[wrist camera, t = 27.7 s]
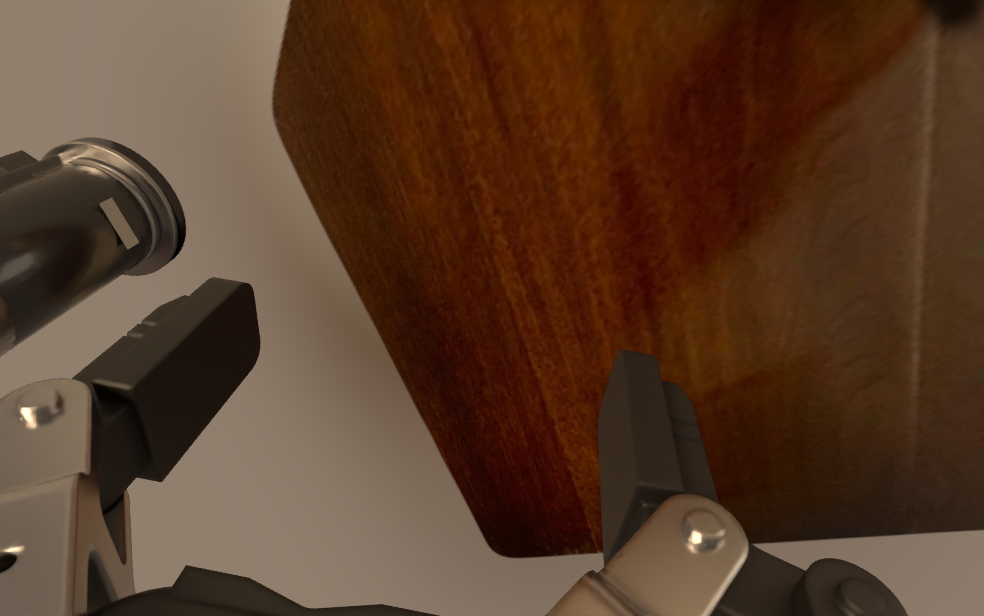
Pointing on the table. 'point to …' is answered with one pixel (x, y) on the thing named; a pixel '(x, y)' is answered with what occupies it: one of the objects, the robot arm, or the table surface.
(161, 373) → the robot arm
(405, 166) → the table surface
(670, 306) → the table surface
